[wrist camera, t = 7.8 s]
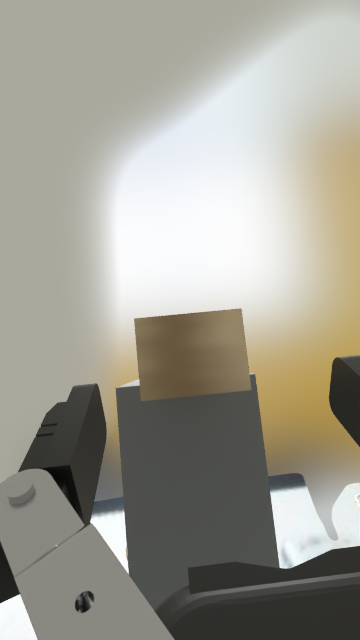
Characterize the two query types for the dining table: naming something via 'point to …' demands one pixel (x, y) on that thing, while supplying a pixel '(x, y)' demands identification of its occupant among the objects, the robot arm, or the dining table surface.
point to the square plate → (357, 500)
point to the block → (191, 354)
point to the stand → (193, 486)
